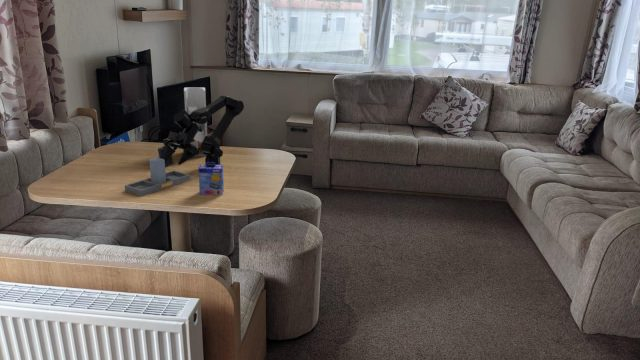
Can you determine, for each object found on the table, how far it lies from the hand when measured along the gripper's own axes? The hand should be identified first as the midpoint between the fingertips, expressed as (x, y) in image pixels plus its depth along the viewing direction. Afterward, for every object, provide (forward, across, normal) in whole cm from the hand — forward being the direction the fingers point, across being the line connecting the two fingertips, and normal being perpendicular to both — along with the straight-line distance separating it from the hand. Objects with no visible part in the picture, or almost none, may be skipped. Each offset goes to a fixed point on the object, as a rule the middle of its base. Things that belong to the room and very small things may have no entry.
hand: (171, 162), depth 223 cm
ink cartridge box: (+7, +25, +6) cm, 27 cm away
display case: (-21, -25, +34) cm, 47 cm away
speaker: (-4, -22, +16) cm, 28 cm away
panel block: (+11, 0, 0) cm, 11 cm away
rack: (+12, 0, 0) cm, 12 cm away
